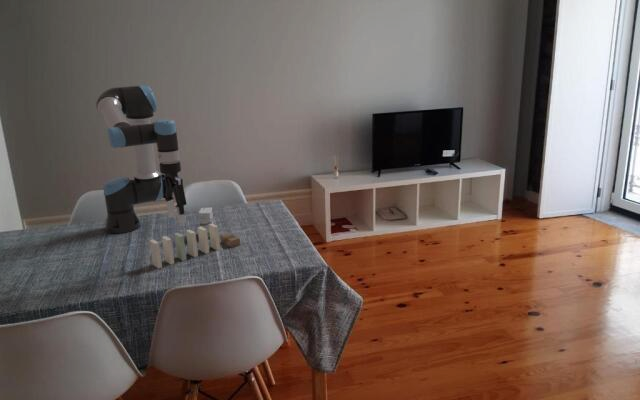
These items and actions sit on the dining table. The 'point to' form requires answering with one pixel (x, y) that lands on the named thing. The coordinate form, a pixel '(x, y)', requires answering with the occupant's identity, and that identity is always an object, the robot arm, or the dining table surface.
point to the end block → (230, 240)
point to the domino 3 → (180, 246)
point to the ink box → (206, 218)
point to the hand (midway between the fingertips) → (176, 219)
